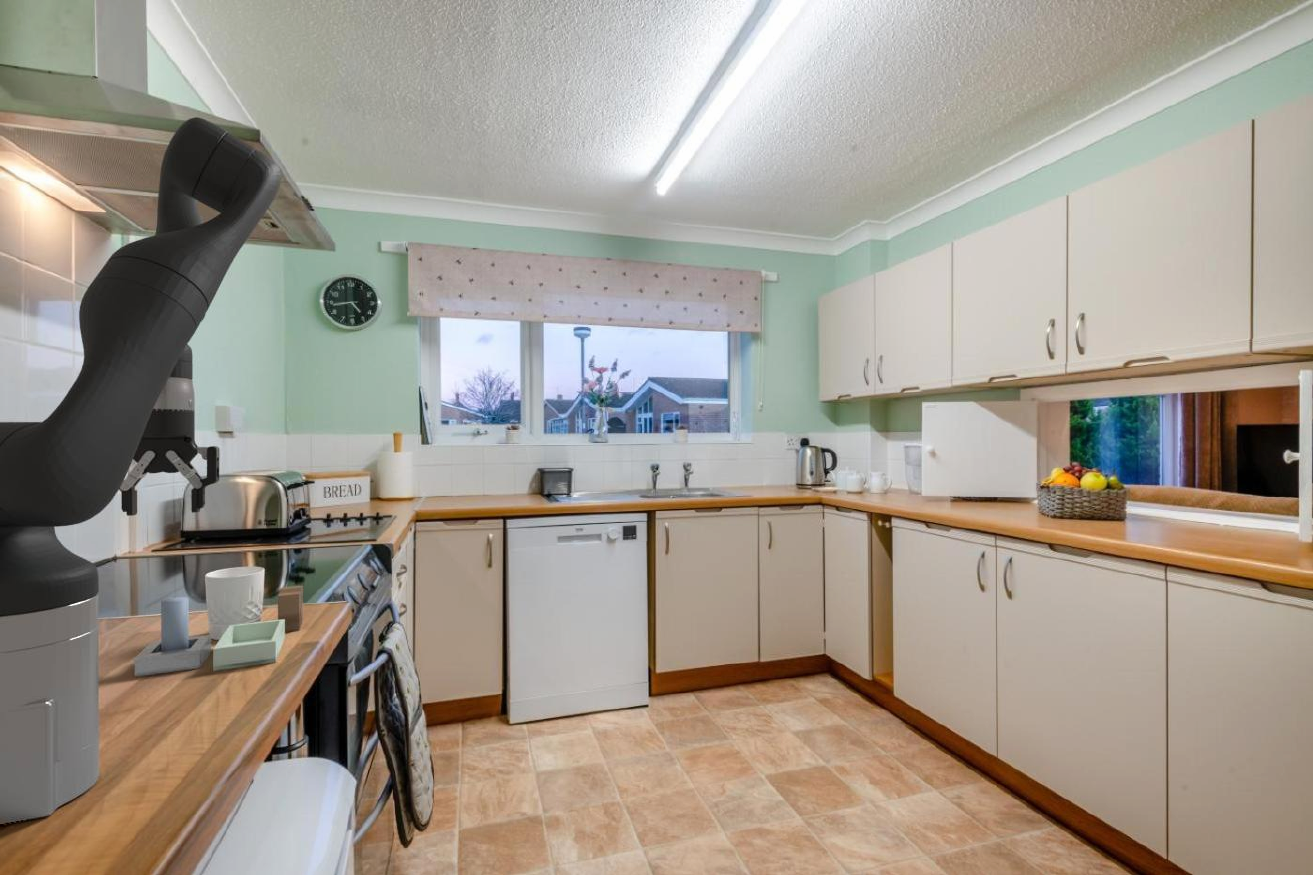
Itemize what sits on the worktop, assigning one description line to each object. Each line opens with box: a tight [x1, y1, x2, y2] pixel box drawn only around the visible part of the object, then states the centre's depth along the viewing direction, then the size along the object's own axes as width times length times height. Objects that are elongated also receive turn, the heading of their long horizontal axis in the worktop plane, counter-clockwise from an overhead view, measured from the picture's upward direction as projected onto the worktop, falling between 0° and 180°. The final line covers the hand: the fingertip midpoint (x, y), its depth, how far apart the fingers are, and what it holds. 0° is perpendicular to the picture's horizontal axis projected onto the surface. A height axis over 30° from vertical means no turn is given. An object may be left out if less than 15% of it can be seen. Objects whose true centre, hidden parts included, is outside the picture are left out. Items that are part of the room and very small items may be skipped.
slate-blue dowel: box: [160, 596, 190, 652], centre depth 84 cm, size 3×3×9 cm
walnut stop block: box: [277, 585, 304, 633], centre depth 100 cm, size 6×3×6 cm, turn 26°
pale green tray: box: [212, 619, 286, 672], centre depth 88 cm, size 11×7×3 cm, turn 26°
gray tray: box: [134, 634, 212, 678], centre depth 84 cm, size 7×7×2 cm
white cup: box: [204, 566, 265, 641], centre depth 97 cm, size 8×8×10 cm
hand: (164, 513), depth 93 cm, fingers open, 7 cm apart
